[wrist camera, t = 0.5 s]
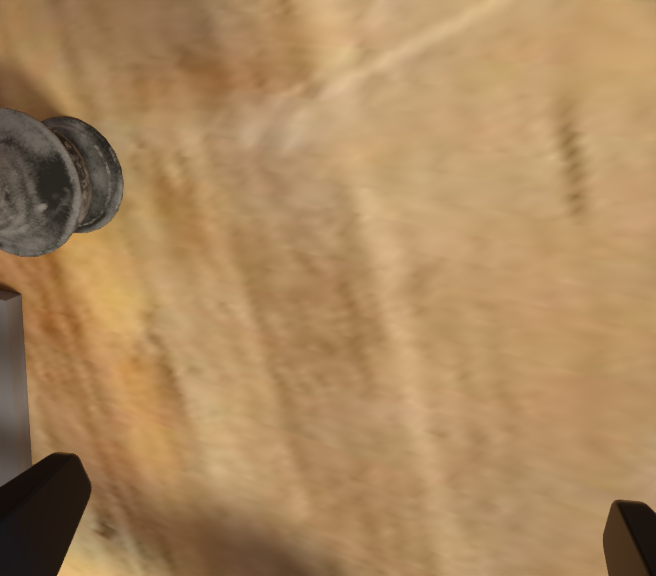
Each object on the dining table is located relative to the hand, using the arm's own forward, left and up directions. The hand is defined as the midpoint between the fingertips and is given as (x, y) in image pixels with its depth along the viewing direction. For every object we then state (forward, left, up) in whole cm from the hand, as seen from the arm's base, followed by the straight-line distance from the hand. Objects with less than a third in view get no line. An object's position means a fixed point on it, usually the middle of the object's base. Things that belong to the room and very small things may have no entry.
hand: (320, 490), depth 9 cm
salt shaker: (+1, +15, -15) cm, 21 cm away
